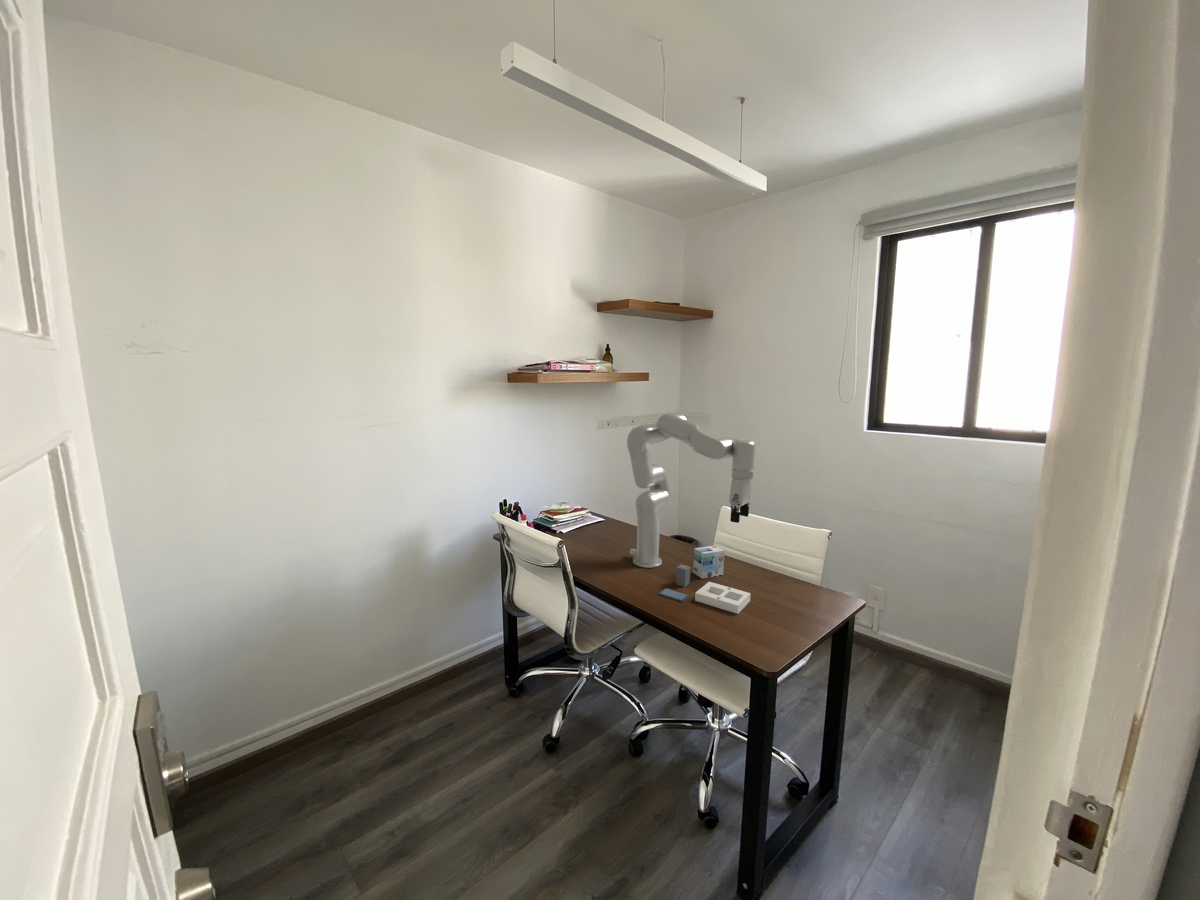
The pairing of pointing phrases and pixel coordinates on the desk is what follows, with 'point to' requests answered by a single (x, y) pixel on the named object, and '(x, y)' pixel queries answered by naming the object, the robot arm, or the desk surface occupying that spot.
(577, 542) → the desk surface
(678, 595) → the phone
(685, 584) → the charger
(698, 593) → the outlet plate
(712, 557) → the light bulb box
